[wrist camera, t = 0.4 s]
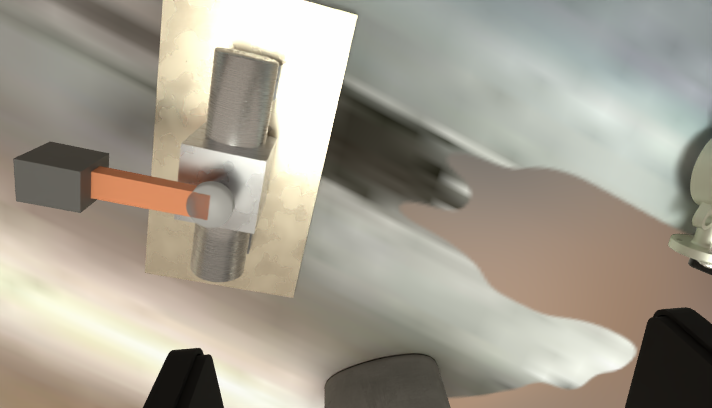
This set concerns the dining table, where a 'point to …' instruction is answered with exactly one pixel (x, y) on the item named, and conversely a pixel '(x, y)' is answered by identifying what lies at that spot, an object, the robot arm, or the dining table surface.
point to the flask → (388, 384)
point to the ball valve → (245, 133)
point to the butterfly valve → (699, 216)
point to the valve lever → (112, 186)
